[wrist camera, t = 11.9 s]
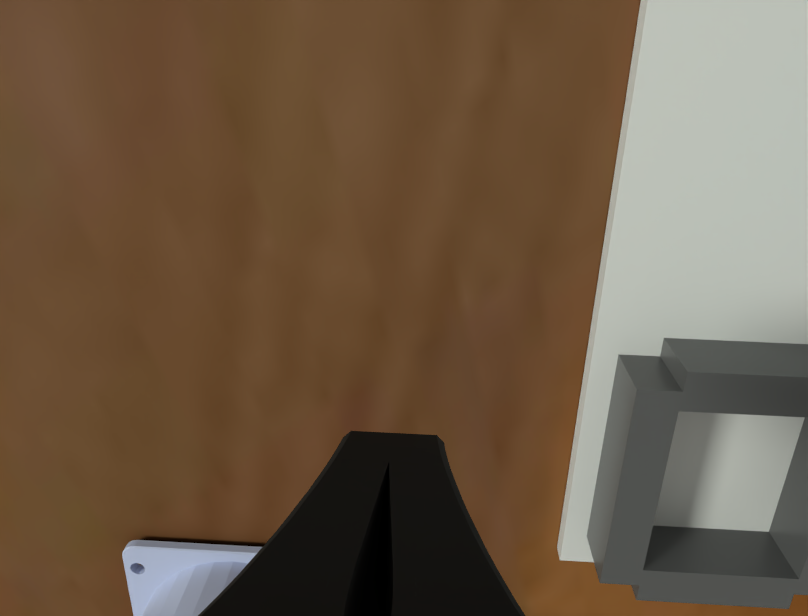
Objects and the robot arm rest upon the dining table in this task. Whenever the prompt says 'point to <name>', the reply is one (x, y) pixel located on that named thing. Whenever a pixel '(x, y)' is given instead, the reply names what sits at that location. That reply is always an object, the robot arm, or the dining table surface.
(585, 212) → the dining table surface
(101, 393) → the dining table surface
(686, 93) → the panel
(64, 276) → the dining table surface
